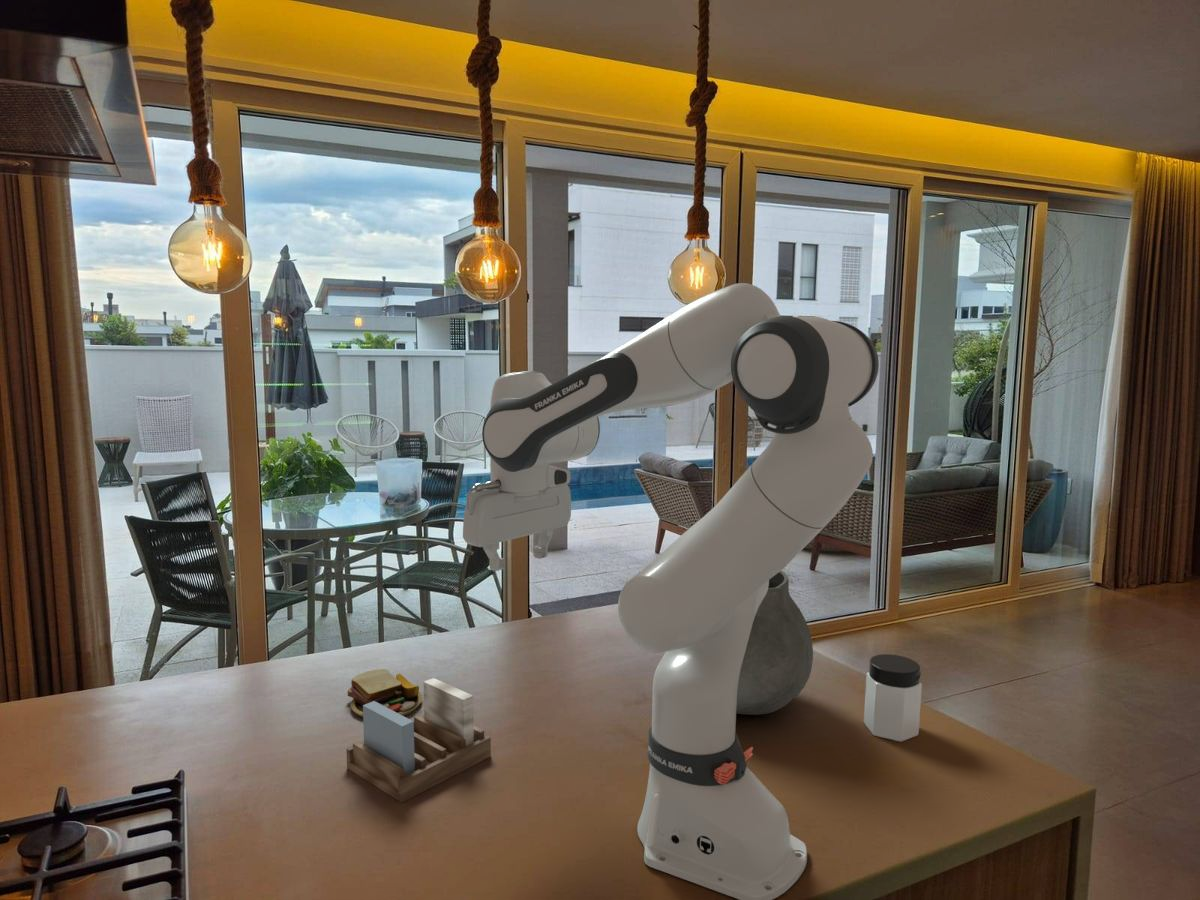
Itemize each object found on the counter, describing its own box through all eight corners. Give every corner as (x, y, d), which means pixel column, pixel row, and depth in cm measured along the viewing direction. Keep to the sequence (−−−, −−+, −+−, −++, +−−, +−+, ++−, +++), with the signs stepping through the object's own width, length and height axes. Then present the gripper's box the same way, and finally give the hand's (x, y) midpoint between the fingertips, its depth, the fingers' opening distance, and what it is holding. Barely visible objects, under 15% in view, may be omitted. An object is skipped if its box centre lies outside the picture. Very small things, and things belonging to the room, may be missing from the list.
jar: (925, 742, 131) (930, 674, 129) (877, 742, 131) (881, 674, 129) (903, 717, 140) (907, 652, 138) (858, 717, 140) (861, 652, 138)
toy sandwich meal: (366, 730, 133) (366, 703, 133) (338, 701, 144) (337, 676, 143) (434, 710, 141) (433, 684, 140) (402, 684, 152) (402, 660, 151)
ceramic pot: (699, 668, 160) (702, 549, 157) (821, 691, 150) (827, 564, 146) (656, 719, 138) (659, 582, 135) (795, 751, 128) (802, 603, 124)
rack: (490, 756, 125) (490, 695, 124) (401, 802, 112) (400, 735, 111) (435, 727, 134) (434, 671, 133) (347, 768, 121) (344, 705, 120)
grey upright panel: (414, 778, 116) (413, 721, 115) (403, 784, 115) (402, 726, 113) (375, 755, 123) (374, 700, 121) (364, 760, 121) (362, 705, 120)
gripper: (481, 487, 111) (482, 582, 113) (577, 471, 127) (577, 554, 129) (453, 482, 115) (454, 573, 117) (549, 466, 131) (549, 547, 133)
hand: (519, 563), depth 123 cm, fingers open, 8 cm apart
